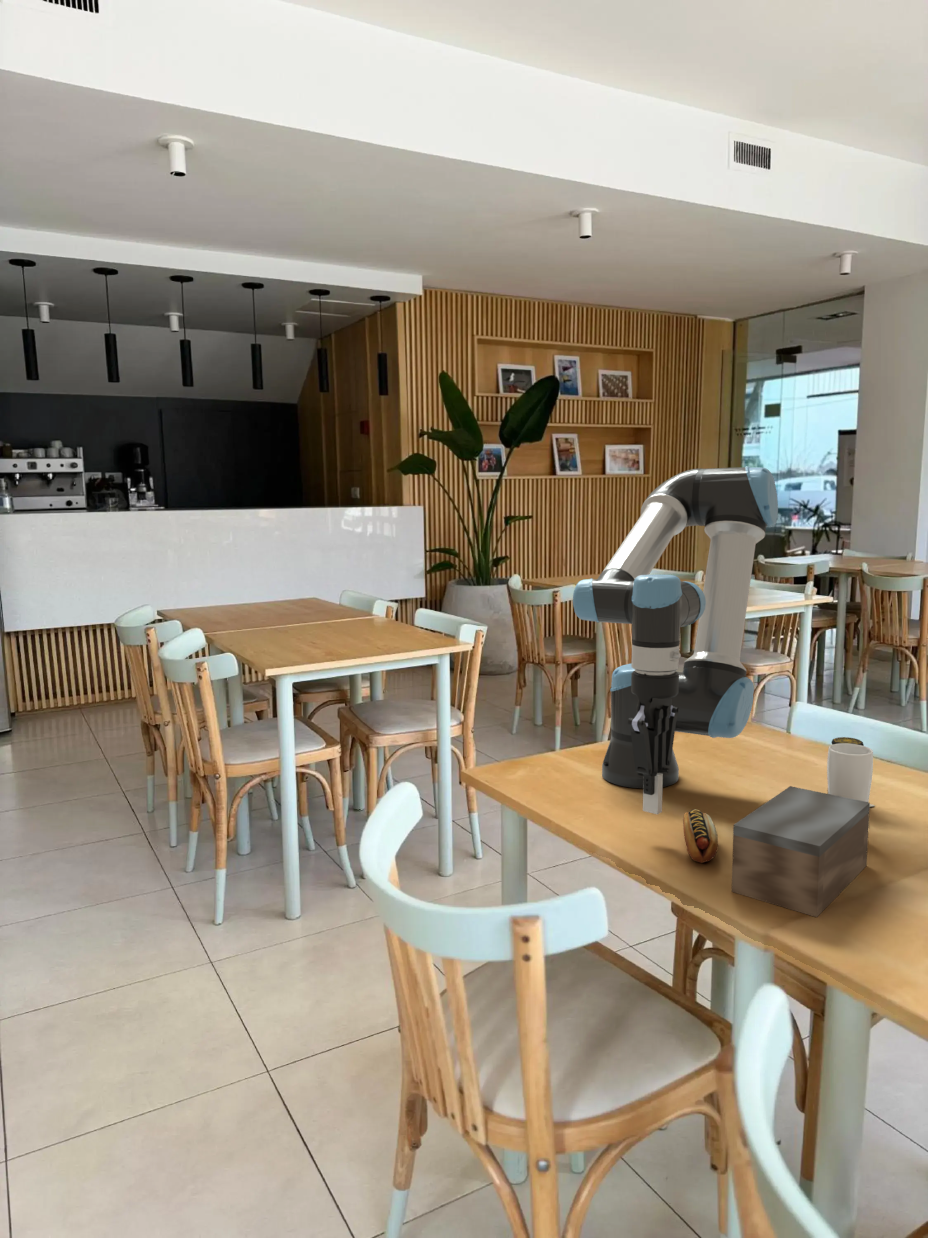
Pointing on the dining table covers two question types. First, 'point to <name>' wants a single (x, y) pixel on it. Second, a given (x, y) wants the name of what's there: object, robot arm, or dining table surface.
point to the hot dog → (700, 836)
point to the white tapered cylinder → (850, 771)
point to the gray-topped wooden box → (800, 849)
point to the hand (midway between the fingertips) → (652, 811)
